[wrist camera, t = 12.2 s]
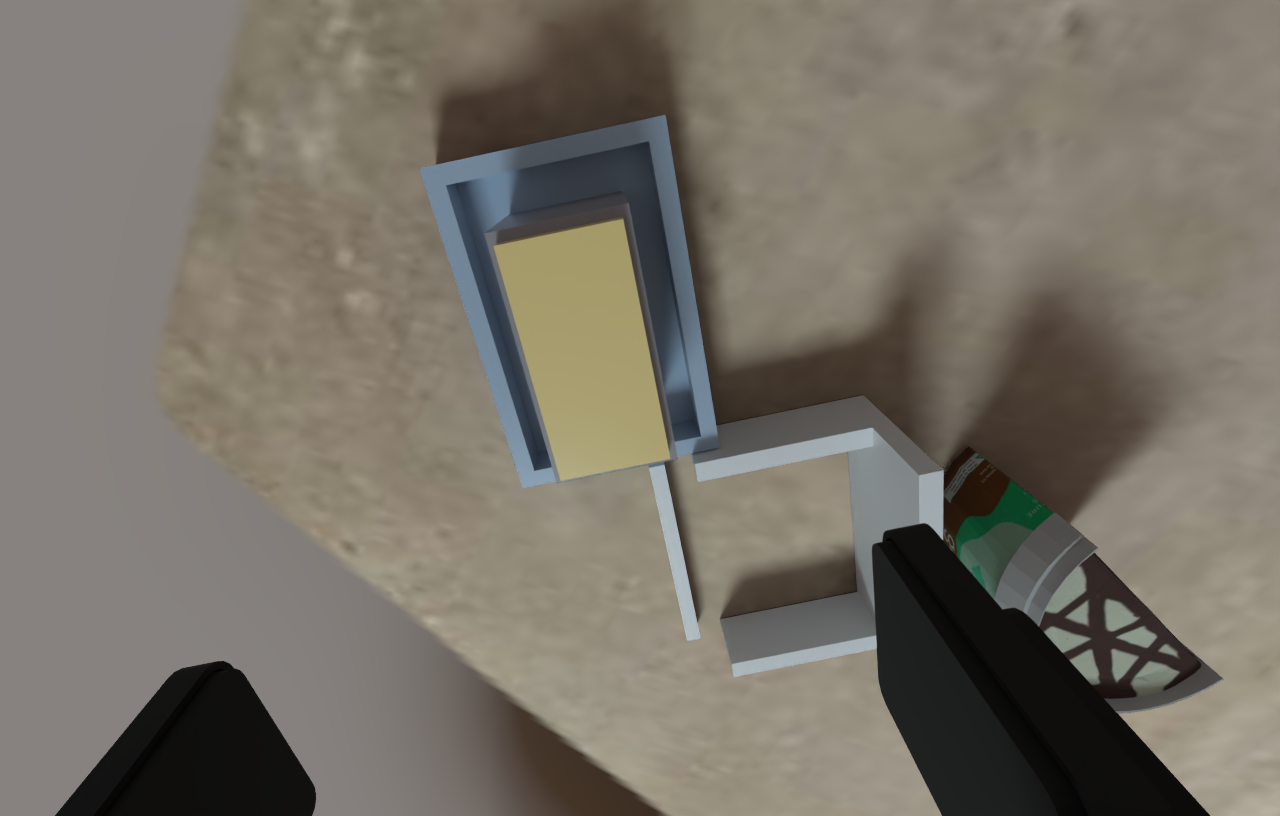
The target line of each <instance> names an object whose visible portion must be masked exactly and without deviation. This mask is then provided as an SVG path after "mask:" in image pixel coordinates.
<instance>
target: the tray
mask: <svg viewBox="0 0 1280 816" xmlns="http://www.w3.org/2000/svg"><path fill="white" fill-rule="evenodd" d="M419 169H420V172H421V176H422V179H423V182H424V185H425V188H426V191H427V194H428V197H429V200H430V203H431V206H432V210H433V213H434V216H435V219H436V222H437V225H438V228H439V231H440V234H441V237H442V240H443V244H444V247H445V250H446V253H447V256H448V259H449V262H450V265H451V268H452V271H453V274H454V278H455V281H456V284H457V287H458V290H459V293H460V296H461V299H462V302H463V305H464V308H465V312H466V315H467V318H468V321H469V324H470V327H471V330H472V333H473V336H474V339H475V342H476V346H477V349H478V352H479V355H480V358H481V361H482V364H483V367H484V370H485V373H486V376H487V380H488V383H489V386H490V389H491V392H492V395H493V398H494V401H495V404H496V407H497V411H498V414H499V417H500V420H501V423H502V426H503V429H504V432H505V435H506V438H507V441H508V445H509V448H510V451H511V454H512V457H513V460H514V463H515V466H516V469H517V472H518V475H519V479H520V482H521V485H522V488H526V487H531V486H536V485H541V484H546V483H551V482H556V479H555V476H554V472H553V469H552V465H551V462H550V459H549V455H548V452H547V448H546V445H545V441H544V438H543V434H542V431H541V428H540V424H539V421H538V417H537V414H536V410H535V407H534V403H533V400H532V396H531V393H530V390H529V386H528V383H527V379H526V376H525V372H524V369H523V365H522V362H521V358H520V355H519V352H518V348H517V345H516V341H515V338H514V334H513V331H512V327H511V324H510V321H509V317H508V314H507V310H506V307H505V303H504V300H503V296H502V293H501V289H500V286H499V283H498V279H497V276H496V272H495V269H494V265H493V262H492V258H491V255H490V252H489V248H488V245H487V241H486V238H485V234H484V233H485V232H487V231H488V230H489V229H491V228H492V227H493V226H495V225H496V224H497V223H499V222H500V221H501V220H503V219H504V218H505V217H507V216H508V215H509V214H513V213H518V212H522V211H527V210H532V209H536V208H541V207H546V206H551V205H555V204H560V203H565V202H570V201H574V200H579V199H584V198H589V197H593V196H598V195H603V194H608V193H612V192H617V191H623V193H624V195H625V197H626V199H627V200H628V202H629V206H630V212H631V217H632V222H633V227H634V232H635V238H636V243H637V248H638V253H639V259H640V264H641V269H642V274H643V280H644V285H645V290H646V295H647V300H648V306H649V311H650V316H651V321H652V327H653V332H654V337H655V342H656V347H657V353H658V358H659V363H660V368H661V374H662V379H663V384H664V389H665V394H666V400H667V405H668V410H669V415H670V421H671V426H672V431H673V436H674V441H675V447H676V452H677V456H682V455H686V454H691V453H696V452H701V451H706V450H711V449H716V448H720V445H719V439H718V433H717V427H716V421H715V415H714V409H713V403H712V396H711V390H710V384H709V378H708V372H707V366H706V360H705V354H704V347H703V341H702V335H701V329H700V323H699V317H698V311H697V305H696V298H695V292H694V286H693V280H692V274H691V268H690V262H689V256H688V249H687V243H686V237H685V231H684V225H683V219H682V213H681V207H680V200H679V194H678V188H677V182H676V176H675V170H674V164H673V158H672V151H671V145H670V139H669V133H668V127H667V121H666V115H662V116H657V117H653V118H648V119H643V120H639V121H634V122H630V123H625V124H620V125H616V126H611V127H607V128H602V129H598V130H593V131H588V132H584V133H579V134H575V135H570V136H565V137H561V138H556V139H552V140H547V141H543V142H538V143H533V144H529V145H524V146H520V147H515V148H510V149H506V150H501V151H497V152H492V153H488V154H483V155H478V156H474V157H469V158H465V159H460V160H455V161H451V162H446V163H442V164H437V165H433V166H428V167H423V168H419Z"/></svg>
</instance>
